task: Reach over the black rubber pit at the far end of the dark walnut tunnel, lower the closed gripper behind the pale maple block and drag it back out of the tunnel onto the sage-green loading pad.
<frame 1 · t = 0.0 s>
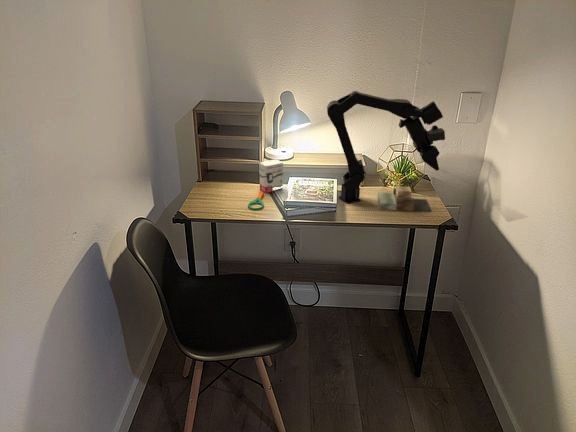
hand: (435, 166, 186), 15 cm above the table, tool tilted 35°, fingers open, 9 cm apart
tunnel course: (402, 204, 190), on the table
maple block: (402, 198, 189), point 2 cm above the table, touching tunnel course
magnifying glass: (258, 203, 191), on the table
ink box: (271, 189, 202), on the table
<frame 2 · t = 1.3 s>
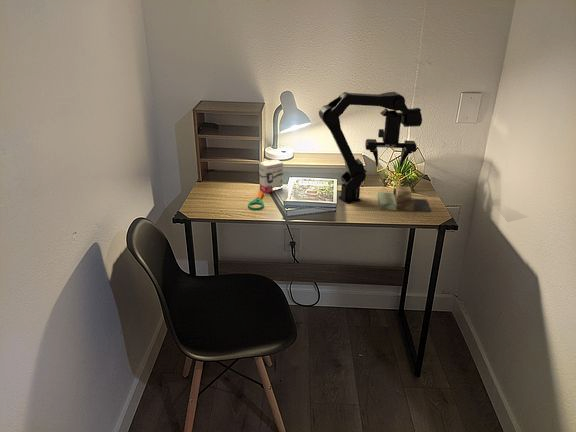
hand: (388, 166, 191), 13 cm above the table, tool pointing down, fingers open, 8 cm apart
nothing on the table moved.
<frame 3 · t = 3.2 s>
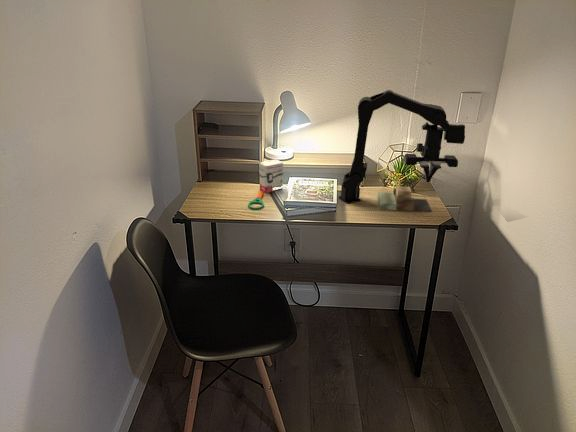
hand: (427, 182, 185), 10 cm above the table, tool pointing down, fingers closed
nothing on the table moved.
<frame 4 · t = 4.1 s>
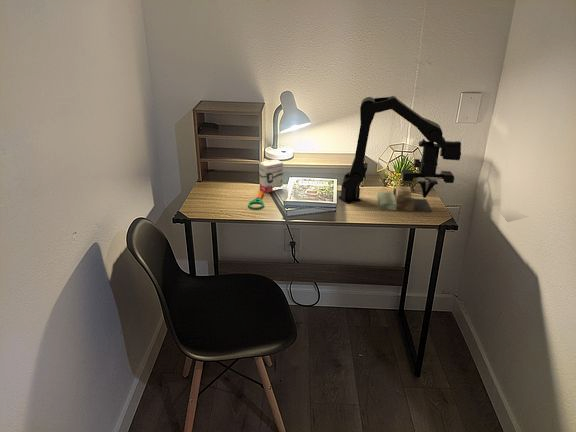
hand: (424, 197, 188), 3 cm above the table, tool pointing down, fingers closed
nothing on the table moved.
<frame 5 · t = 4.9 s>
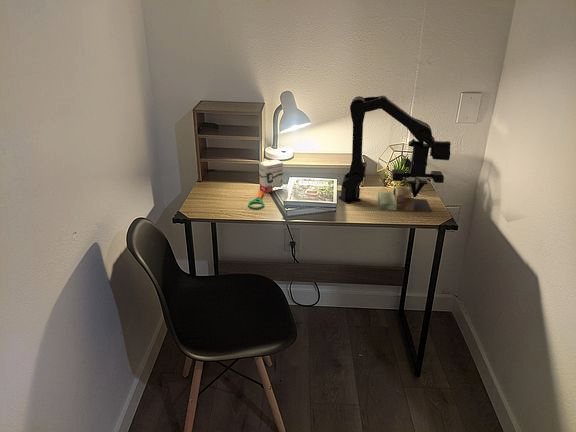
hand: (414, 196, 188), 3 cm above the table, tool pointing down, fingers closed
maple block: (402, 198, 189), point 3 cm above the table, touching gripper, tunnel course
everything else where it was.
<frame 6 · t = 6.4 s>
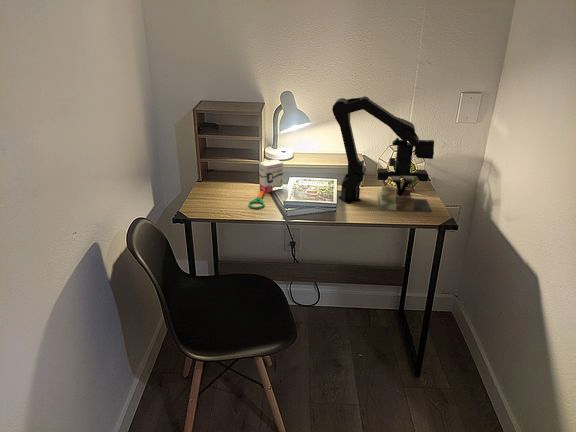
hand: (399, 195, 189), 4 cm above the table, tool pointing down, fingers closed
maple block: (388, 198, 189), point 2 cm above the table, touching gripper, tunnel course
everything else where it was.
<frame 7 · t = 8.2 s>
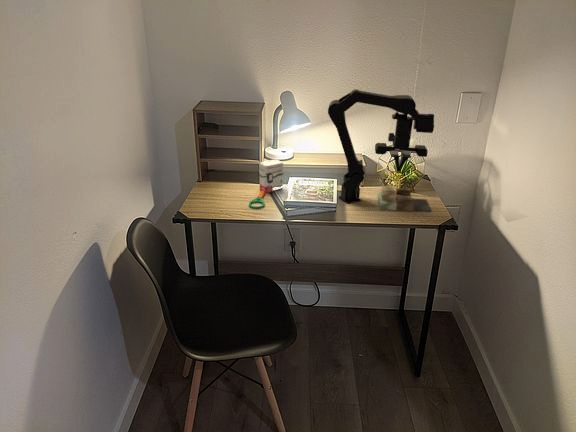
hand: (397, 171, 187), 13 cm above the table, tool pointing down, fingers closed
maple block: (388, 198, 189), point 2 cm above the table, touching tunnel course
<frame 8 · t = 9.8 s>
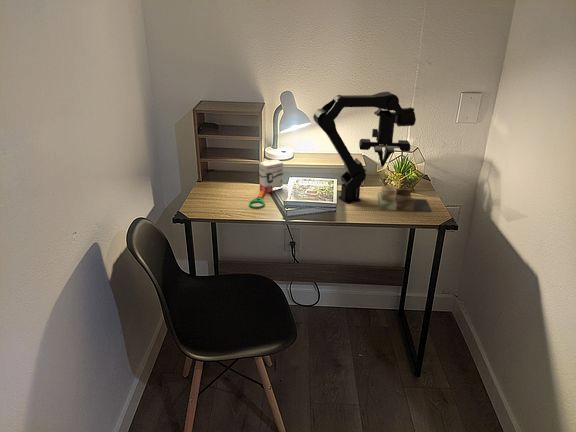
hand: (382, 166, 191), 13 cm above the table, tool pointing down, fingers closed
at the end: maple block 1.2 cm from the target spot, point 2.5 cm above the table; maple block tilted 0°; maple block moved 5.6 cm from its start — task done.
